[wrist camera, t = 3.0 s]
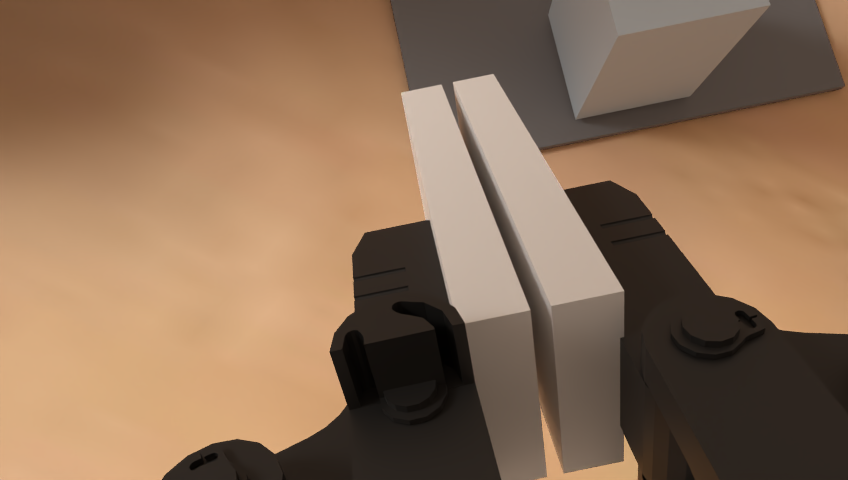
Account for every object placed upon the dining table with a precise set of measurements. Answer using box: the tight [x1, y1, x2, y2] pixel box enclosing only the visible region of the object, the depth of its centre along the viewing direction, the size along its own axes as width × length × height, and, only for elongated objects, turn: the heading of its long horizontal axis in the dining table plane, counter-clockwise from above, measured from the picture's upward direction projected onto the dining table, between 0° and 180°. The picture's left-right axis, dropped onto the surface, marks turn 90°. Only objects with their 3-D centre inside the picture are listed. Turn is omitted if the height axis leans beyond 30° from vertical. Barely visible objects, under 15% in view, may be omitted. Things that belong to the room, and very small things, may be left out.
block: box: [548, 0, 770, 120], centre depth 31 cm, size 6×6×9 cm
